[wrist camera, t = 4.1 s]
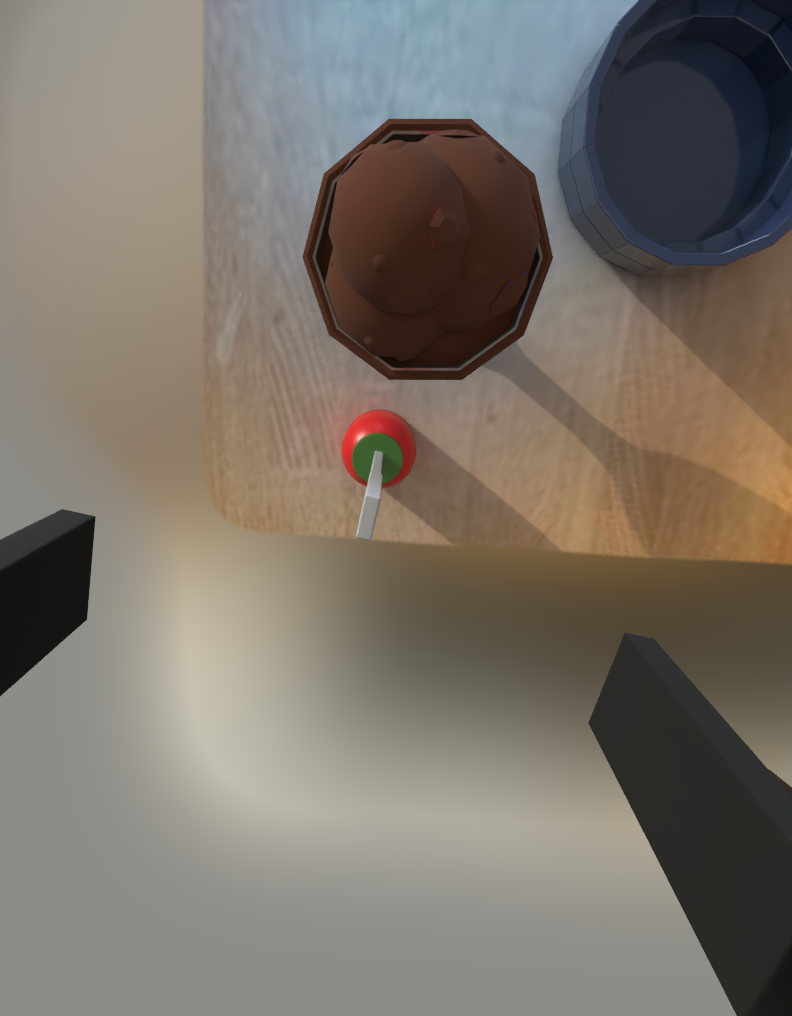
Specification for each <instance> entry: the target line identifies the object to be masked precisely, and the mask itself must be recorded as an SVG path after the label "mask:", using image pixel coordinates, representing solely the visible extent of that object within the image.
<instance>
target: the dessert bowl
mask: <svg viewBox="0 0 792 1016" xmlns="http://www.w3.org/2000/svg"><path fill="white" fill-rule="evenodd" d="M558 173H559V178H560V182H561V186H562V189H563V193H564V197H565V200H566V204H567V207H568V211H569V215H570V218H571V220H572V223H573V224H574V225H575V226H576V228H577V229H578V230H579V231H580V233H581V234H582V235H583V236H584V238H585V239H586V240H587V241H588V243H589V244H590V245H591V247H592V248H593V249H594V250H595V252H596V253H597V254H598V255H599V256H600V257H602V258H604V259H606V260H608V261H610V262H612V263H614V264H616V265H618V266H620V267H622V268H624V269H626V270H628V271H630V272H632V273H634V274H636V275H667V276H680V275H686V274H690V273H694V272H698V271H702V270H706V269H710V268H715V267H719V266H723V265H725V264H728V263H730V262H733V261H735V260H738V259H740V258H743V257H745V256H748V255H750V254H753V253H755V252H758V251H760V250H763V249H765V248H768V247H770V246H772V245H773V244H775V243H776V242H777V241H778V240H779V239H780V238H781V237H782V236H784V235H785V234H786V233H787V232H788V231H789V230H790V229H791V228H792V0H639V1H638V2H637V3H636V4H635V5H634V6H633V7H632V8H631V9H630V10H629V11H628V12H627V13H626V14H625V15H624V16H623V18H622V19H621V20H620V21H619V22H618V23H617V24H616V26H615V27H614V29H613V30H612V32H611V33H610V34H609V36H608V37H607V39H606V40H605V42H604V43H603V45H602V46H601V47H600V49H599V50H598V52H597V53H596V55H595V56H594V58H593V59H592V60H591V62H590V63H589V65H588V66H587V68H586V69H585V71H584V74H583V76H582V78H581V80H580V83H579V85H578V87H577V89H576V91H575V94H574V96H573V98H572V100H571V103H570V105H569V107H568V109H567V112H566V114H565V116H564V118H563V123H562V134H561V145H560V157H559V168H558Z"/></svg>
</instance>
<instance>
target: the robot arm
mask: <svg viewBox="0 0 792 1016" xmlns="http://www.w3.org/2000/svg"><path fill="white" fill-rule="evenodd" d="M94 527H95V516H90V515H86V514H82V513H77V512H72V511H68V510H63V509H62V510H60V511H58V512H56V513H54V514H52V515H50V516H48V517H45V518H44V519H41V520H39V521H37V522H35V523H33V524H31V525H29V526H27V527H25V528H23V529H21V530H19V531H17V532H15V533H13V534H11V535H9V536H7V537H5V538H3V539H1V540H0V696H1V695H2V694H3V693H4V692H6V690H8V689H9V688H10V687H11V686H12V685H13V684H15V683H16V682H17V681H18V680H19V679H20V678H21V677H22V676H24V675H25V674H26V673H27V672H28V671H29V670H30V669H31V668H33V667H34V666H35V665H36V664H37V663H38V662H39V661H41V660H42V659H43V658H44V657H45V656H46V655H47V654H48V653H49V652H51V651H52V650H53V649H54V648H55V647H56V646H57V645H58V644H60V643H61V642H62V641H63V640H64V639H65V638H66V637H68V636H69V635H70V634H71V633H72V632H73V631H74V630H75V629H77V628H78V627H79V626H80V625H81V624H82V623H83V622H85V621H86V620H87V612H88V599H89V588H90V574H91V563H92V551H93V539H94ZM589 725H590V727H591V729H592V731H593V733H594V735H595V737H596V739H597V741H598V743H599V745H600V747H601V749H602V751H603V753H604V755H605V757H606V759H607V761H608V762H609V764H610V766H611V768H612V770H613V772H614V774H615V776H616V778H617V780H618V782H619V784H620V786H621V788H622V790H623V792H624V794H625V796H626V798H627V800H628V802H629V804H630V806H631V808H632V810H633V812H634V814H635V816H636V818H637V820H638V822H639V824H640V826H641V828H642V829H643V832H644V833H645V835H646V837H647V839H648V841H649V843H650V845H651V847H652V849H653V851H654V853H655V855H656V857H657V859H658V861H659V863H660V865H661V867H662V869H663V871H664V873H665V875H666V877H667V879H668V881H669V883H670V885H671V887H672V889H673V891H674V893H675V895H676V896H677V899H678V901H679V902H680V904H681V906H682V908H683V910H684V912H685V914H686V916H687V918H688V920H689V922H690V924H691V926H692V928H693V930H694V932H695V934H696V936H697V938H698V940H699V942H700V944H701V946H702V948H703V950H704V952H705V953H706V956H707V958H708V960H709V962H710V963H711V966H712V968H713V969H714V971H715V973H716V975H717V977H718V979H719V981H720V983H721V985H722V987H723V989H724V991H725V993H726V995H727V997H728V999H729V1001H730V1003H731V1005H732V1007H733V1009H734V1011H735V1013H736V1015H737V1016H792V787H790V786H789V785H788V784H787V783H785V782H784V781H783V780H782V779H780V778H779V777H778V776H777V775H775V774H774V773H773V772H771V771H770V770H768V769H767V768H766V767H765V765H763V763H762V762H761V761H760V760H759V759H758V757H757V756H756V755H755V754H754V753H753V752H752V751H751V750H750V748H749V747H748V746H747V745H746V744H745V743H744V742H743V740H742V739H741V738H740V737H739V736H738V735H737V734H736V732H734V730H733V729H732V728H731V727H730V725H729V724H728V723H727V722H726V721H725V720H724V719H723V718H722V716H721V715H720V714H719V713H718V712H717V711H716V709H715V708H714V707H713V706H712V705H711V704H710V703H709V702H708V700H707V699H706V698H705V697H704V696H703V695H702V693H701V692H700V691H699V690H698V689H697V688H696V687H695V686H694V684H693V683H692V682H691V681H690V680H689V679H688V678H687V676H686V675H685V674H684V673H683V672H682V671H681V669H680V668H679V667H678V666H677V665H676V664H675V663H674V661H673V660H672V659H671V658H670V657H669V656H668V655H667V653H666V652H665V651H664V650H663V649H662V648H661V647H660V645H659V644H658V643H657V642H656V641H655V640H654V639H652V638H647V637H643V636H638V635H634V634H629V633H625V634H624V636H623V639H622V641H621V644H620V647H619V649H618V651H617V654H616V656H615V659H614V661H613V664H612V666H611V669H610V671H609V674H608V676H607V679H606V681H605V683H604V686H603V688H602V691H601V693H600V696H599V698H598V701H597V704H596V706H595V708H594V711H593V713H592V716H591V718H590V721H589Z"/></svg>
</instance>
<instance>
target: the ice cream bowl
mask: <svg viewBox="0 0 792 1016" xmlns="http://www.w3.org/2000/svg"><path fill="white" fill-rule="evenodd" d="M552 259H553V256H552V252H551V247H550V243H549V238H548V233H547V229H546V224H545V220H544V215H543V211H542V206H541V201H540V197H539V192H538V188H537V183H536V179H535V174H534V173H532V172H531V171H530V170H529V169H528V168H527V167H526V166H524V165H523V164H522V163H521V162H520V161H519V160H518V159H516V158H515V157H514V156H513V155H512V154H511V153H510V152H508V151H507V150H506V149H505V148H504V147H503V146H502V145H500V144H499V143H498V142H497V141H496V140H495V139H494V138H492V137H491V136H490V135H489V134H488V133H487V132H486V131H484V130H483V129H482V128H481V127H480V126H479V125H478V124H476V123H475V122H474V121H473V120H472V119H388V120H387V121H386V122H385V123H384V124H382V125H381V126H380V127H379V128H378V129H376V130H375V131H374V132H373V133H372V134H371V135H369V136H368V137H367V138H366V139H365V140H363V141H362V142H361V143H360V144H359V145H357V146H356V147H355V148H354V149H353V150H352V151H350V152H349V153H348V154H347V155H346V156H344V157H343V158H342V159H341V160H340V161H339V162H337V163H336V164H335V165H334V166H333V167H331V168H330V169H329V170H328V171H327V172H326V173H324V176H323V180H322V183H321V187H320V191H319V195H318V199H317V203H316V207H315V211H314V215H313V219H312V223H311V227H310V231H309V234H308V238H307V242H306V246H305V250H304V254H303V260H304V263H305V265H306V268H307V271H308V274H309V277H310V280H311V283H312V286H313V289H314V292H315V295H316V298H317V301H318V304H319V307H320V309H321V312H322V315H323V318H324V321H325V324H326V327H327V330H328V333H329V335H330V336H332V337H333V338H334V339H336V340H337V341H338V342H340V343H341V344H342V345H344V346H345V347H346V348H348V349H349V350H350V351H352V352H353V353H354V354H356V355H357V356H358V357H360V358H361V359H362V360H364V361H365V362H366V363H368V364H369V365H370V366H372V367H373V368H375V369H376V370H377V371H379V372H380V373H381V374H383V375H384V376H385V377H387V378H388V379H389V380H462V379H464V378H465V377H466V376H468V375H469V374H471V373H472V372H473V371H475V370H476V369H477V368H479V367H480V366H482V365H483V364H484V363H486V362H487V361H489V360H490V359H491V358H493V357H494V356H495V355H497V354H498V353H500V352H501V351H502V350H504V349H505V348H507V347H508V346H509V345H511V344H512V343H513V342H515V341H516V340H518V339H519V338H520V337H522V336H523V335H524V333H525V330H526V328H527V325H528V322H529V320H530V317H531V315H532V312H533V309H534V307H535V304H536V301H537V299H538V296H539V293H540V291H541V288H542V285H543V283H544V280H545V277H546V275H547V272H548V269H549V267H550V264H551V262H552Z"/></svg>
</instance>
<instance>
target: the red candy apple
mask: <svg viewBox="0 0 792 1016" xmlns="http://www.w3.org/2000/svg"><path fill="white" fill-rule="evenodd" d="M415 455H416V448H415V442H414V437H413V433H412V431H411V429H410V427H409V425H408V424H407V423H406V421H405V420H404V419H402V418H401V417H400V416H398V415H397V414H395V413H393V412H390V411H385V410H373V411H369V412H367V413H364V414H363V415H361V416H359V417H358V418H357V419H356V420H355V421H354V422H353V423H352V424H351V426H350V428H349V429H348V431H347V433H346V435H345V437H344V440H343V444H342V458H343V462H344V465H345V467H346V469H347V471H348V472H349V474H350V475H351V476H352V477H353V478H354V479H355V480H356V481H357V482H359V483H361V484H362V485H365V486H367V488H366V492H365V497H364V501H363V505H362V510H361V515H360V520H359V524H358V529H357V534H356V537H357V538H360V539H365V540H371V538H372V534H373V529H374V525H375V521H376V517H377V513H378V508H379V504H380V500H381V491H382V488H387V487H390V486H393V485H395V484H397V483H399V482H400V481H402V480H403V479H404V478H405V477H406V476H407V475H408V473H409V472H410V470H411V468H412V466H413V464H414V461H415Z"/></svg>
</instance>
